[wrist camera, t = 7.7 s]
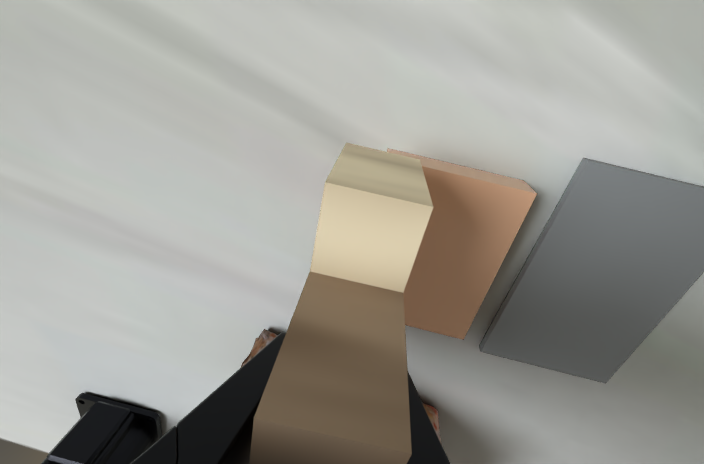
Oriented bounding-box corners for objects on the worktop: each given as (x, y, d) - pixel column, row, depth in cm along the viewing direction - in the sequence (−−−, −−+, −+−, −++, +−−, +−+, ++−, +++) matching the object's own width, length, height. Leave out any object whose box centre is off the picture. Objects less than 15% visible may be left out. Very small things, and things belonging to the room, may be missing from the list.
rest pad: (601, 377, 18) (605, 383, 18) (479, 346, 19) (480, 351, 18) (755, 198, 13) (764, 202, 13) (583, 157, 13) (588, 160, 13)
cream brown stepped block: (362, 347, 15) (337, 596, 8) (309, 335, 15) (238, 574, 8) (420, 159, 11) (471, 339, 4) (346, 142, 11) (265, 292, 4)
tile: (352, 286, 18) (457, 313, 18) (347, 310, 17) (463, 339, 17) (388, 146, 15) (520, 177, 15) (385, 157, 13) (537, 193, 13)
